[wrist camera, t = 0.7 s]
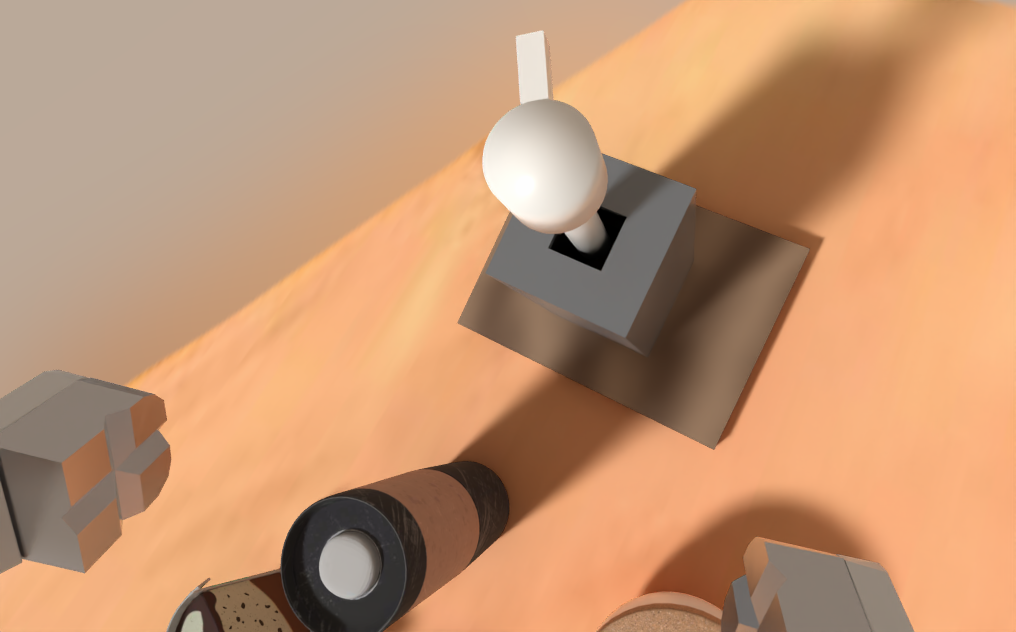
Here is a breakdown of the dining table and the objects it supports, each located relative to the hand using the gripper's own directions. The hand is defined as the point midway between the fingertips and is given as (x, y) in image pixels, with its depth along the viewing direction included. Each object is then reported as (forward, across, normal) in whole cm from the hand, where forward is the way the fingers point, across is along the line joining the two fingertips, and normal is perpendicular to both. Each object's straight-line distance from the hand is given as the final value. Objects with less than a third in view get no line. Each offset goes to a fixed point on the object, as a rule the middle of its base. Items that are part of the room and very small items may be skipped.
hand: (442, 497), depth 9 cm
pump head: (+28, -2, +5) cm, 28 cm away
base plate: (+41, -5, +14) cm, 44 cm away
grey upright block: (+40, -5, +13) cm, 42 cm away
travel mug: (+33, +3, +32) cm, 46 cm away
